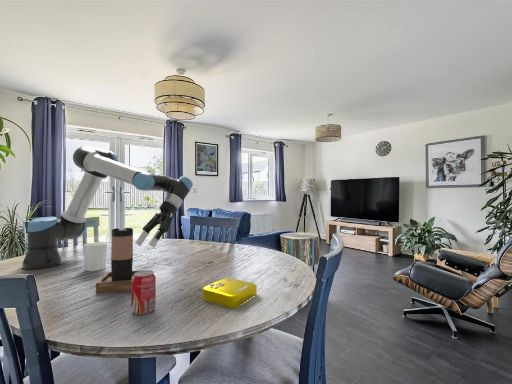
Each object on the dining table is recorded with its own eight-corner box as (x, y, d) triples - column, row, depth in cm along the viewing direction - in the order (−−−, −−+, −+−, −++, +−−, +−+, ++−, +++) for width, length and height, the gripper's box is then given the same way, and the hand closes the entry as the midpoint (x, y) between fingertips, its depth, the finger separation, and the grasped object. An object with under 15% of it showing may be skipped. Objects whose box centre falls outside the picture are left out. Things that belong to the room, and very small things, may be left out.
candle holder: (78, 270, 127) (78, 244, 127) (97, 265, 136) (97, 241, 136) (92, 272, 123) (93, 246, 123) (111, 267, 132) (112, 242, 132)
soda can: (135, 306, 88) (136, 269, 88) (157, 306, 89) (158, 269, 89) (127, 316, 81) (127, 276, 81) (151, 315, 82) (152, 276, 82)
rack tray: (107, 281, 112) (107, 271, 112) (143, 279, 115) (143, 270, 115) (95, 294, 98) (96, 283, 98) (137, 291, 101) (137, 280, 101)
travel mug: (123, 283, 102) (124, 230, 102) (106, 282, 104) (107, 229, 104) (136, 277, 110) (137, 228, 110) (120, 276, 111) (120, 227, 111)
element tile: (234, 310, 87) (235, 295, 87) (200, 300, 95) (200, 286, 95) (258, 295, 100) (258, 282, 100) (226, 287, 108) (226, 275, 108)
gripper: (191, 208, 119) (164, 251, 109) (164, 211, 137) (139, 248, 126) (178, 198, 116) (150, 241, 105) (152, 202, 133) (125, 239, 122)
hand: (144, 245), depth 116 cm, fingers open, 13 cm apart
